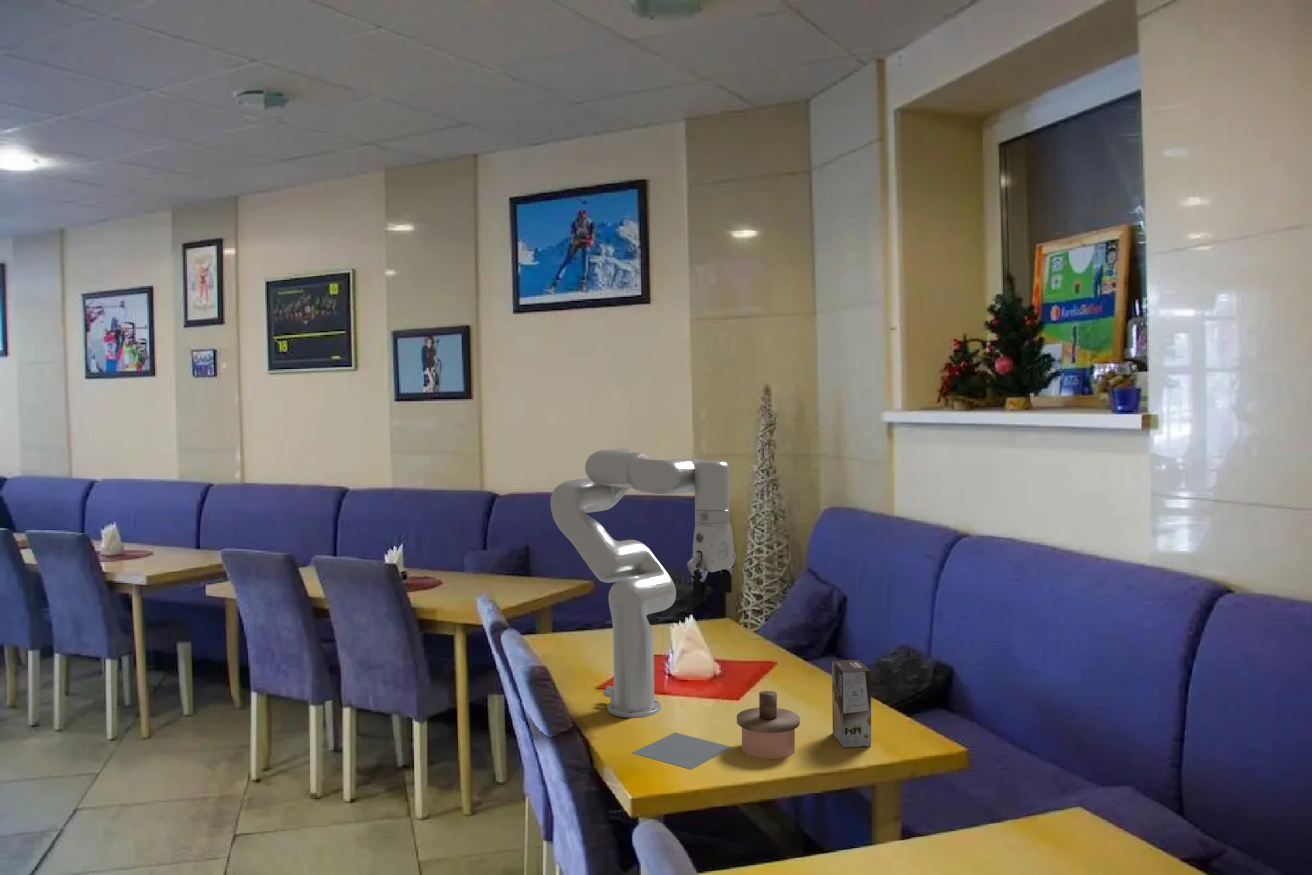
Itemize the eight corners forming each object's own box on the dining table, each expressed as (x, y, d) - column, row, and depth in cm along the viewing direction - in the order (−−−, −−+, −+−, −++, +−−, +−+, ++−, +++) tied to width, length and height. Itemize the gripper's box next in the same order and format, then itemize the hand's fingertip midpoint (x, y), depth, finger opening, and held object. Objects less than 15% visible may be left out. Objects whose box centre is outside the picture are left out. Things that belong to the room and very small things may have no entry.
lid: (724, 724, 194) (724, 695, 194) (757, 707, 204) (757, 680, 204) (780, 737, 186) (780, 707, 186) (810, 719, 197) (810, 691, 196)
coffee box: (872, 746, 197) (872, 670, 197) (842, 748, 197) (842, 671, 196) (859, 731, 206) (859, 659, 206) (830, 732, 206) (830, 660, 205)
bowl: (732, 752, 195) (732, 723, 194) (759, 737, 203) (759, 710, 203) (777, 764, 188) (777, 734, 188) (804, 748, 197) (803, 720, 196)
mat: (631, 754, 194) (631, 752, 194) (675, 734, 206) (674, 732, 206) (691, 771, 185) (691, 769, 185) (732, 748, 197) (732, 746, 197)
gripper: (703, 522, 196) (704, 604, 196) (748, 514, 209) (748, 591, 210) (674, 520, 200) (675, 600, 201) (720, 512, 214) (720, 587, 214)
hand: (712, 595), depth 205 cm, fingers open, 9 cm apart
